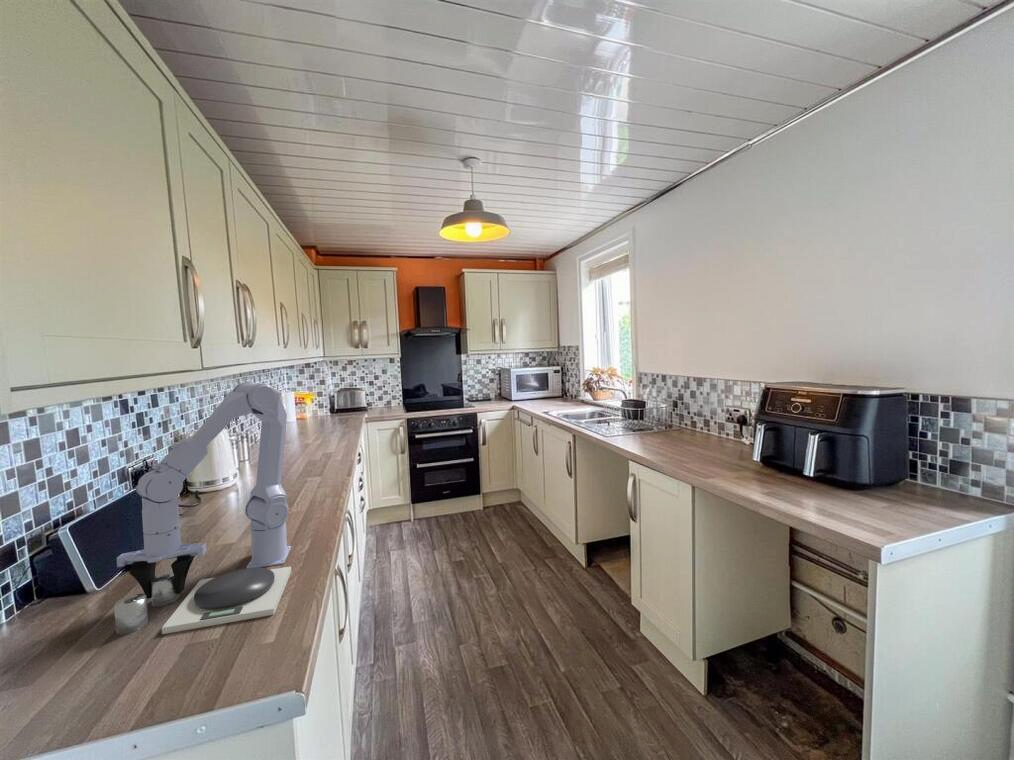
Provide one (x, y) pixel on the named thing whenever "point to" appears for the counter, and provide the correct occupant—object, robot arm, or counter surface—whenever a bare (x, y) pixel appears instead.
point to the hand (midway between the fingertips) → (165, 593)
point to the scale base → (199, 617)
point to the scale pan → (234, 588)
